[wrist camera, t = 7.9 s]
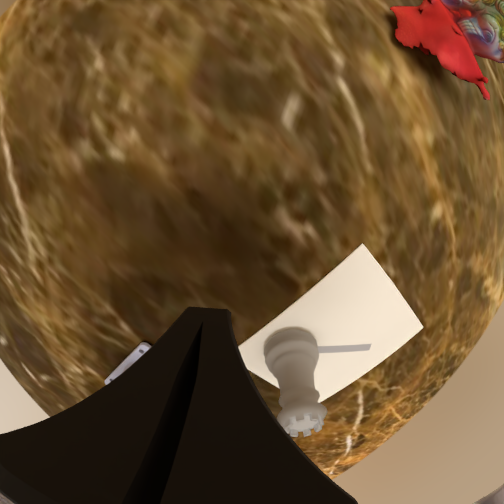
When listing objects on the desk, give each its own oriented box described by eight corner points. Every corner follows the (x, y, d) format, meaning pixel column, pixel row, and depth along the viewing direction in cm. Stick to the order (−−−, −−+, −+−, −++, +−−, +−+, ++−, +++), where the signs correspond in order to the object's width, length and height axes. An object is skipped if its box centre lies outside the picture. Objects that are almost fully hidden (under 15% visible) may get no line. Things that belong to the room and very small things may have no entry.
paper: (312, 405, 25) (312, 406, 25) (226, 354, 22) (226, 355, 22) (422, 326, 21) (423, 327, 21) (362, 242, 18) (362, 243, 18)
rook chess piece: (327, 341, 21) (353, 418, 14) (291, 371, 22) (303, 447, 15) (287, 316, 20) (304, 401, 13) (252, 351, 21) (253, 434, 14)
